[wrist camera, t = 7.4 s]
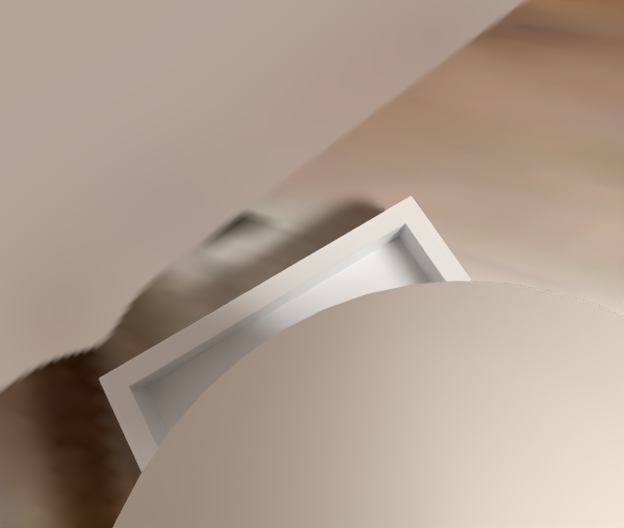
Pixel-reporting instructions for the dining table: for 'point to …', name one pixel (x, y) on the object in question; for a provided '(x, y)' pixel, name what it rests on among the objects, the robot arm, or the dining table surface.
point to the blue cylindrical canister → (407, 420)
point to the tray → (272, 318)
